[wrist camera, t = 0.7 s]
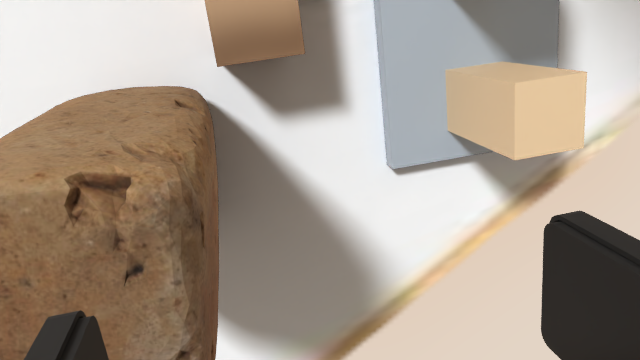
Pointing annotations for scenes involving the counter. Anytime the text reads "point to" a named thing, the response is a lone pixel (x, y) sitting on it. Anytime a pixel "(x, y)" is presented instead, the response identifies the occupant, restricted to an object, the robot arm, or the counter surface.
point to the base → (443, 47)
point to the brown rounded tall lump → (113, 223)
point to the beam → (254, 30)
